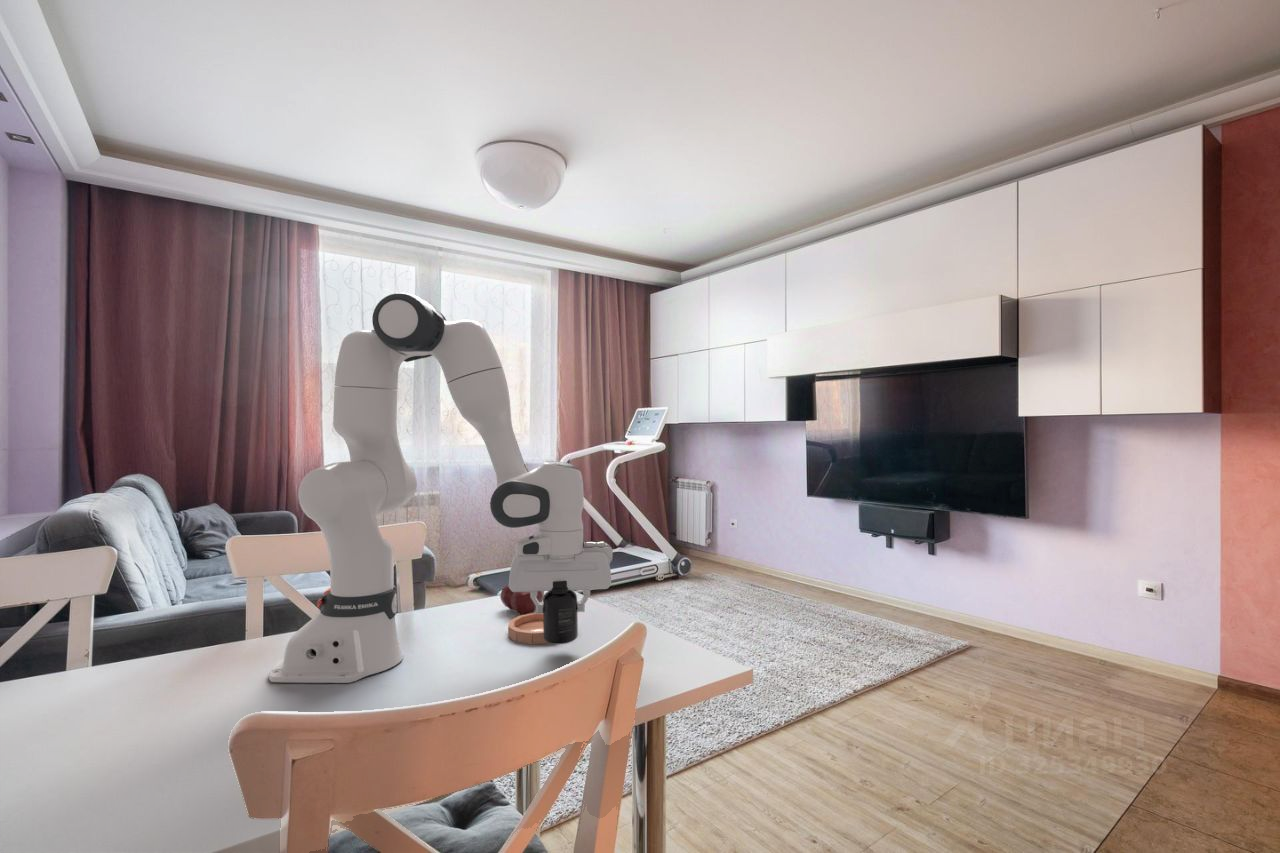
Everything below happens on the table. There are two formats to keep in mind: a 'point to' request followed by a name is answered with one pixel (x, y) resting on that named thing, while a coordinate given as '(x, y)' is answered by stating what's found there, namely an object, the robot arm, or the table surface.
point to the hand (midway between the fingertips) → (560, 611)
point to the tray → (527, 629)
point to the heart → (520, 600)
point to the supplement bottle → (560, 614)
